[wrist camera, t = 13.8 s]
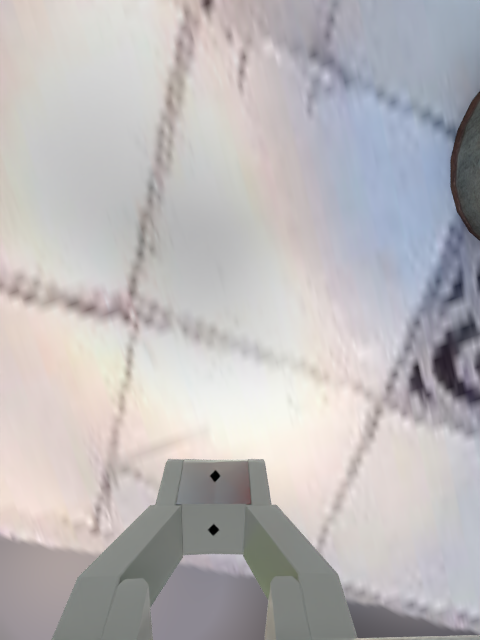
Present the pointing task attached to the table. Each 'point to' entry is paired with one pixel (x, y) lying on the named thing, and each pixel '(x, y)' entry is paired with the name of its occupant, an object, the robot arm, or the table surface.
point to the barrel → (468, 168)
